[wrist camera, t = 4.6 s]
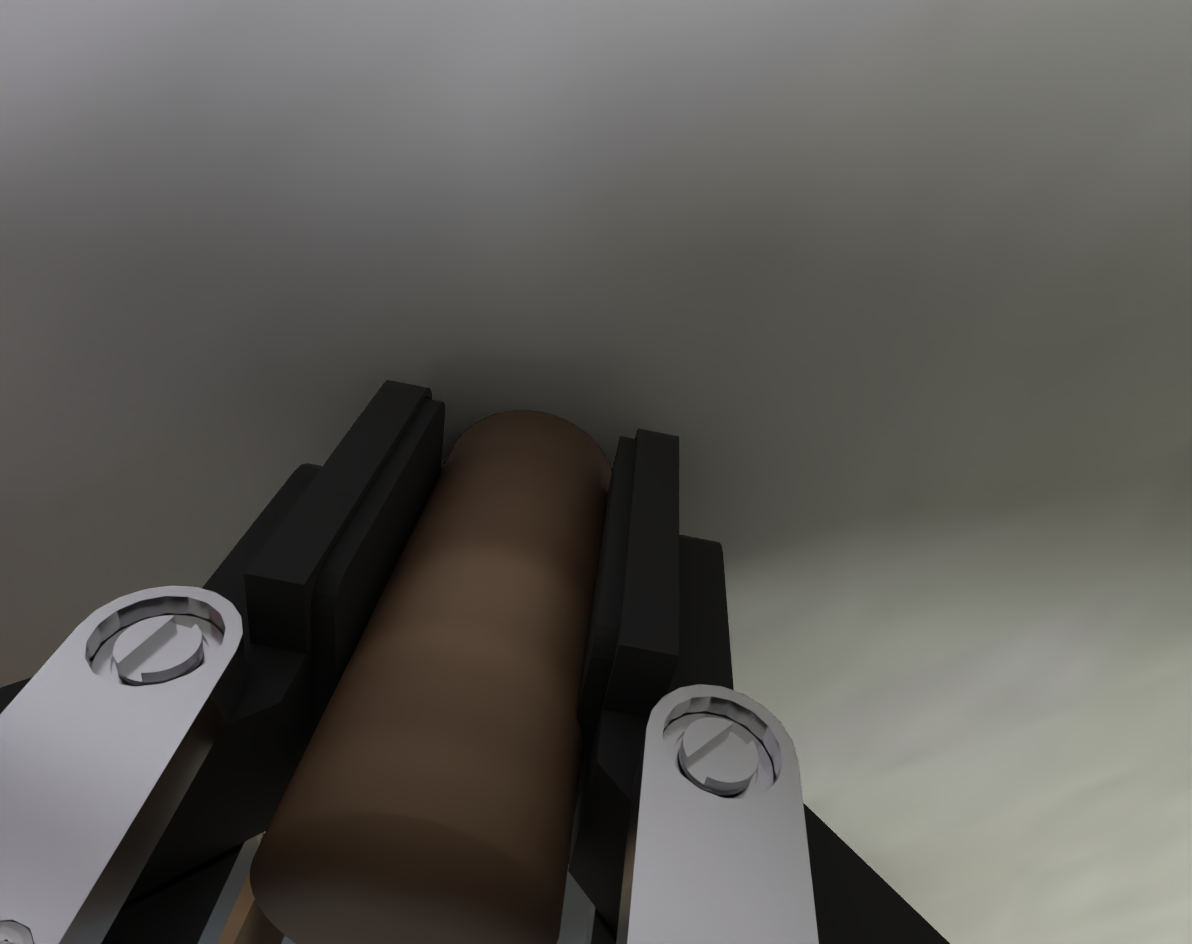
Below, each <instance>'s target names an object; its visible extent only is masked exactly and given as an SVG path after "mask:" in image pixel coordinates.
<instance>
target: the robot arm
mask: <svg viewBox="0 0 1192 944" xmlns="http://www.w3.org/2000/svg"><path fill="white" fill-rule="evenodd" d="M444 418H445V404H444V402H441V401H436V400H432V393H431V390H430V388H426V387H421V386H416V385H410V384H405V383H400V382H395V381H390V380H387V381H386V382H385V383H384V384H383V385H382V387H381V388H380V389H379V391H378V392H377V393H376V395H375V396H374V398H373V399H372V400H371V402H370V403H369V404H368V406H367V407H366V408H365V410H364V411H363V412H362V414H361V415H360V416H359V418H358V419H357V421H356V422H355V423H354V425H353V426H352V427H351V429H350V430H349V431H348V433H347V434H346V435H345V437H344V438H343V439H342V441H341V442H340V443H339V445H338V446H337V448H336V449H335V450H334V452H333V453H332V454H331V456H330V457H329V458H328V460H327V461H326V462H325V464H324V465H323V466H319V465H313V464H308V463H307V464H302V465H301V466H299V467H298V468H297V469H296V470H295V471H294V473H293V474H292V475H291V476H290V478H289V479H288V480H287V481H286V483H285V484H284V485H283V486H282V488H281V489H280V490H279V492H278V493H277V494H276V495H275V497H274V498H273V499H272V500H271V502H270V503H269V504H268V505H267V507H266V508H265V509H264V511H263V512H262V513H261V514H260V516H259V517H258V518H257V519H256V521H255V522H254V523H253V524H252V526H251V527H250V528H249V530H248V531H247V532H246V533H245V535H244V536H243V537H242V538H241V540H240V541H239V542H238V543H237V545H236V546H235V547H234V549H233V550H232V551H231V552H230V554H229V555H228V556H227V557H226V559H225V560H224V561H223V562H222V564H221V565H220V566H219V568H218V569H217V570H216V571H215V573H214V574H213V575H212V576H211V578H210V579H209V580H208V581H207V583H206V584H205V585H204V587H203V588H198V587H191V586H172V585H171V586H163V587H156V588H148V589H143V590H140V591H137V592H134V593H131V594H128V595H125V596H122V597H119V598H117V599H115V600H113V601H111V602H110V603H108V604H106V605H104V606H102V607H100V608H99V609H97V610H95V611H94V612H93V613H92V614H91V615H90V616H88V617H87V618H86V619H85V620H84V621H83V622H82V623H80V624H79V625H78V626H77V627H76V628H75V630H74V631H73V632H72V633H71V634H70V635H69V636H68V638H67V639H66V640H65V641H64V642H63V643H62V644H61V646H60V647H59V648H58V649H57V650H56V651H55V652H54V654H53V655H52V656H51V657H50V658H49V659H48V660H47V662H46V663H45V664H44V665H43V666H42V667H41V668H40V670H39V671H38V672H37V673H36V674H35V675H34V676H33V677H32V678H29V679H26V680H23V681H20V682H17V683H14V684H11V685H8V686H5V687H2V688H0V944H217V943H218V941H219V938H220V936H221V934H222V932H223V929H224V927H225V925H226V923H227V920H228V918H229V916H230V914H231V911H232V909H233V907H234V905H235V902H236V900H237V898H238V895H239V893H240V891H241V889H242V886H243V884H244V882H245V880H246V877H247V875H248V873H249V871H250V867H251V863H252V859H253V857H254V855H255V853H256V851H257V849H258V847H259V845H260V843H261V839H262V835H263V832H265V831H266V830H267V828H268V826H269V824H270V822H271V820H272V818H273V816H274V814H275V812H276V810H277V808H278V806H279V804H280V802H281V800H282V798H283V796H284V793H285V791H286V789H287V787H288V785H289V783H290V781H291V779H292V777H293V775H294V773H295V771H296V769H297V767H298V765H299V763H300V761H301V759H302V757H303V754H304V752H305V750H306V748H307V746H308V744H309V742H310V740H311V738H312V736H313V734H314V732H315V730H316V728H317V726H318V724H319V722H320V720H321V718H322V715H323V713H324V711H325V709H326V707H327V705H328V703H329V701H330V699H331V697H332V695H333V693H334V691H335V689H336V687H337V685H338V683H339V681H340V679H341V677H342V674H343V672H344V670H345V668H346V666H347V664H348V662H349V660H350V658H351V656H352V654H353V652H354V650H355V648H356V646H357V644H358V642H359V640H360V638H361V635H362V633H363V631H364V629H365V627H366V625H367V623H368V621H369V619H370V617H371V615H372V613H373V611H374V609H375V607H376V605H377V603H378V601H379V599H380V596H381V594H382V592H383V590H384V588H385V586H386V584H387V582H388V580H389V578H390V576H391V574H392V572H393V570H394V568H395V566H396V564H397V562H398V560H399V557H400V555H401V553H402V551H403V549H404V547H405V545H406V543H407V541H408V539H409V537H410V535H411V533H412V531H413V529H414V527H415V525H416V523H417V521H418V518H419V516H420V514H421V512H422V510H423V508H424V506H425V504H426V502H427V500H428V498H429V496H430V494H431V492H432V490H433V488H434V486H435V484H436V482H437V479H438V477H439V475H440V472H441V458H442V445H443V431H444ZM577 720H578V722H579V725H580V729H581V733H582V740H583V750H582V758H581V766H580V774H579V782H578V790H577V798H576V806H575V814H574V822H573V830H572V838H571V846H570V854H569V862H568V864H569V868H568V872H569V873H570V874H571V876H572V877H573V878H574V880H575V881H576V882H577V884H578V885H579V886H580V887H581V889H582V890H583V891H584V893H585V894H586V895H587V897H588V898H589V899H590V901H591V902H592V905H591V909H590V913H589V920H588V928H587V935H586V943H585V944H950V943H949V942H948V941H947V940H946V939H945V938H944V937H942V936H941V935H940V934H939V933H938V932H937V931H936V930H935V929H934V928H933V927H932V926H931V925H930V924H929V923H928V922H927V921H926V920H925V919H924V918H923V917H922V916H921V915H920V914H919V913H917V912H916V911H915V910H914V909H913V908H912V907H911V906H910V905H909V904H908V903H907V902H906V901H905V900H904V899H903V898H902V897H901V896H900V895H899V894H898V893H897V892H896V891H895V890H894V889H892V888H891V887H890V886H889V885H888V884H887V883H886V882H885V881H884V880H883V879H882V878H881V877H880V876H879V875H878V874H877V873H876V872H875V871H874V870H873V869H872V868H871V867H870V866H869V865H867V864H866V863H865V862H864V861H863V860H862V859H861V858H860V857H859V856H858V855H857V854H856V853H855V852H854V851H853V850H852V849H851V848H850V847H849V846H848V845H847V844H846V843H845V842H844V841H842V840H841V839H840V838H839V837H838V836H837V835H836V834H835V833H834V832H833V831H832V830H831V829H830V828H829V827H828V826H827V825H826V824H825V823H824V822H823V821H822V820H821V819H820V818H819V817H817V816H816V815H815V814H814V813H813V812H812V811H811V810H810V809H809V808H808V807H807V806H806V805H805V804H804V803H803V797H802V788H801V779H800V771H799V762H798V758H797V754H796V751H795V747H794V744H793V741H792V739H791V738H790V736H789V734H788V733H787V731H786V730H785V728H784V727H783V725H782V723H781V722H780V721H779V720H778V719H777V718H776V717H775V716H774V715H773V714H772V713H771V712H770V711H768V710H767V709H766V708H765V707H764V706H763V705H761V704H760V703H758V702H756V701H755V700H753V699H751V698H750V697H748V696H746V695H745V694H743V693H740V692H737V691H734V690H733V677H732V664H731V651H730V638H729V626H728V613H727V600H726V587H725V574H724V562H723V551H722V546H721V544H720V543H719V542H715V541H709V540H704V539H699V538H694V537H689V536H683V535H679V437H678V436H674V435H668V434H663V433H658V432H653V431H648V430H643V429H638V430H637V434H636V437H635V439H633V438H627V437H622V436H620V439H619V443H618V448H617V452H616V457H615V462H614V466H613V471H612V476H611V480H610V485H609V490H608V495H607V502H606V509H605V516H604V524H603V531H602V538H601V545H600V552H599V560H598V567H597V574H596V581H595V588H594V595H593V603H592V610H591V617H590V624H589V631H588V638H587V646H586V653H585V660H584V667H583V674H582V682H581V689H580V696H579V703H578V710H577Z"/></svg>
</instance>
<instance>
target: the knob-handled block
mask: <svg viewBox="0 0 1192 944" xmlns="http://www.w3.org/2000/svg"><path fill="white" fill-rule="evenodd" d="M611 476H612V471H611V468H610V465H609V463H608V461H607V459H606V457H605V455H604V453H603V452H602V450H601V449H600V447H599V446H598V445H597V444H596V443H595V442H594V441H593V439H592V438H591V437H589V436H588V435H587V434H586V433H585V432H584V431H582V430H581V429H579V428H578V427H576V426H575V425H573V424H571V423H570V422H568V421H566V420H564V419H561V418H559V417H556V416H553V415H550V414H546V413H542V412H535V411H508V412H503V413H499V414H495V415H492V416H489V417H487V418H484V419H482V420H481V421H479V422H477V423H475V424H474V425H473V426H471V427H470V428H469V429H467V430H466V431H465V432H464V433H463V434H462V435H461V436H460V438H459V439H458V440H457V442H456V443H455V445H454V447H453V449H452V451H451V453H450V455H449V457H448V459H447V461H446V463H445V465H444V467H443V469H442V471H441V473H440V475H439V477H438V479H437V482H436V484H435V486H434V488H433V490H432V492H431V494H430V496H429V498H428V500H427V502H426V504H425V506H424V508H423V510H422V512H421V514H420V516H419V518H418V521H417V523H416V525H415V527H414V529H413V531H412V533H411V535H410V537H409V539H408V541H407V543H406V545H405V547H404V549H403V551H402V553H401V555H400V557H399V560H398V562H397V564H396V566H395V568H394V570H393V572H392V574H391V576H390V578H389V580H388V582H387V584H386V586H385V588H384V590H383V592H382V594H381V596H380V599H379V601H378V603H377V605H376V607H375V609H374V611H373V613H372V615H371V617H370V619H369V621H368V623H367V625H366V627H365V629H364V631H363V633H362V635H361V638H360V640H359V642H358V644H357V646H356V648H355V650H354V652H353V654H352V656H351V658H350V660H349V662H348V664H347V666H346V668H345V670H344V672H343V674H342V677H341V679H340V681H339V683H338V685H337V687H336V689H335V691H334V693H333V695H332V697H331V699H330V701H329V703H328V705H327V707H326V709H325V711H324V713H323V715H322V718H321V720H320V722H319V724H318V726H317V728H316V730H315V732H314V734H313V736H312V738H311V740H310V742H309V744H308V746H307V748H306V750H305V752H304V754H303V757H302V759H301V761H300V763H299V765H298V767H297V769H296V771H295V773H294V775H293V777H292V779H291V781H290V783H289V785H288V787H287V789H286V791H285V793H284V796H283V798H282V800H281V802H280V804H279V806H278V808H277V810H276V812H275V814H274V816H273V818H272V820H271V822H270V824H269V826H268V828H267V830H266V832H265V835H264V837H263V839H262V841H261V843H260V845H259V847H258V849H257V851H256V853H255V855H254V857H253V859H252V863H251V867H250V885H251V889H252V893H253V895H254V897H255V900H256V902H257V904H258V906H259V907H260V909H261V910H262V911H263V913H264V914H265V916H266V917H267V918H268V919H269V920H270V921H271V923H272V924H273V925H274V926H275V927H276V928H277V929H278V930H279V931H281V932H282V933H283V934H284V935H285V936H284V938H283V941H282V943H281V944H585V943H586V935H587V928H588V920H589V913H590V909H591V905H592V902H591V901H590V899H589V898H588V897H587V895H586V894H585V893H584V891H583V890H582V889H581V887H580V886H579V885H578V884H577V882H576V881H575V880H574V878H573V877H572V876H571V874H570V873H569V872H568V868H569V867H568V862H569V854H570V846H571V838H572V830H573V822H574V814H575V806H576V798H577V790H578V782H579V774H580V766H581V758H582V750H583V740H582V733H581V729H580V725H579V722H578V720H577V710H578V703H579V696H580V689H581V682H582V674H583V667H584V660H585V653H586V646H587V638H588V631H589V624H590V617H591V610H592V603H593V595H594V588H595V581H596V574H597V567H598V560H599V552H600V545H601V538H602V531H603V524H604V516H605V509H606V502H607V495H608V490H609V485H610V480H611Z"/></svg>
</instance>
